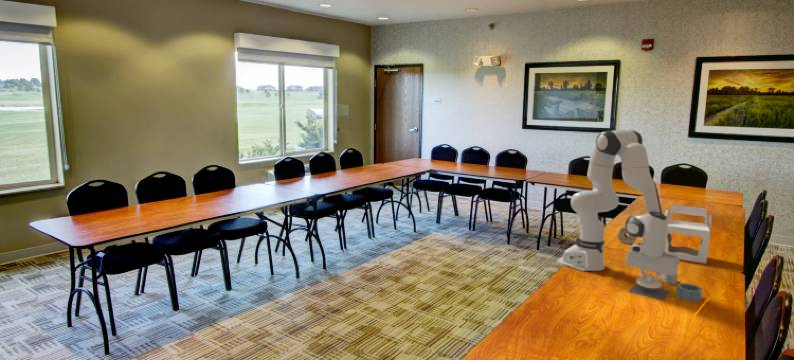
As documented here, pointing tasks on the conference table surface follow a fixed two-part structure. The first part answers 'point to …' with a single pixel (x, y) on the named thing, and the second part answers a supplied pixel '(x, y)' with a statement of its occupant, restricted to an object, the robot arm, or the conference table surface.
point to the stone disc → (625, 236)
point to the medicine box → (669, 278)
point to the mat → (650, 292)
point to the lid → (648, 282)
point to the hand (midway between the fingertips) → (649, 279)
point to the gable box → (689, 233)
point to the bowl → (689, 292)
